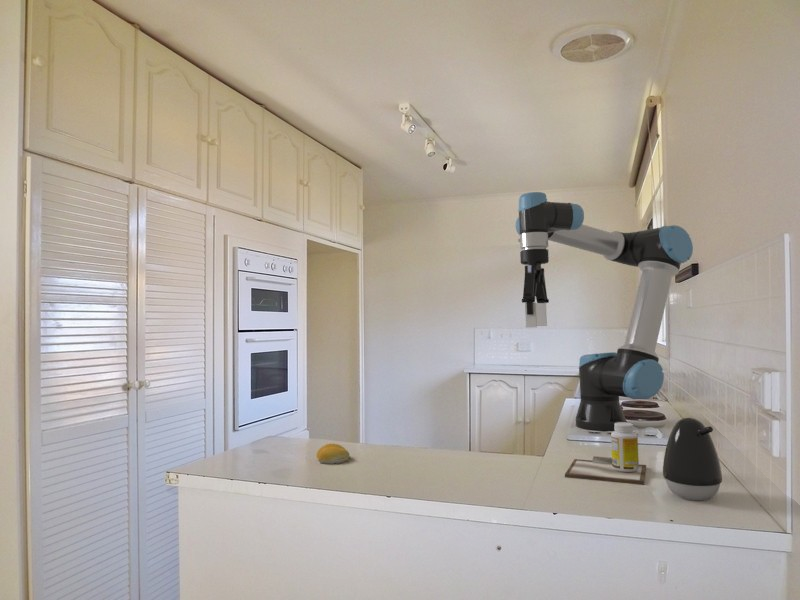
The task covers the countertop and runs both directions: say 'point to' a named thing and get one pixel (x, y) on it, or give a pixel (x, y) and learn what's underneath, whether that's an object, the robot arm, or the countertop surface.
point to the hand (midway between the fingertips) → (536, 326)
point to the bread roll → (332, 454)
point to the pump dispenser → (692, 461)
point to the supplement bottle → (624, 448)
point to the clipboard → (604, 471)
